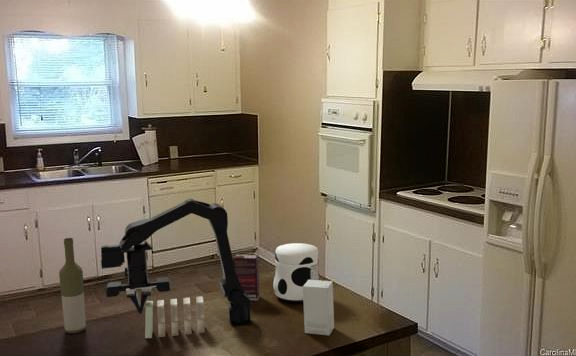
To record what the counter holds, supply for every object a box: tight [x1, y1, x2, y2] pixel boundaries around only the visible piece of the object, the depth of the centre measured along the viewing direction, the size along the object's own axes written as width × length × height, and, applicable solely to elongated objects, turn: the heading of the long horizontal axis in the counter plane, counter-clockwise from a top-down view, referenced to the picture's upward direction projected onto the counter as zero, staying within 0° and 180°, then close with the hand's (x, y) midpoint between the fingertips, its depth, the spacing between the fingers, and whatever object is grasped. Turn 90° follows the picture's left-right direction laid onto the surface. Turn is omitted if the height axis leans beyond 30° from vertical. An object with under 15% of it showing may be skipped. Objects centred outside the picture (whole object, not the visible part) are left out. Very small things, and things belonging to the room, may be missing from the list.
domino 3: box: [169, 298, 180, 337], centre depth 174 cm, size 2×5×10 cm, turn 12°
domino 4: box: [182, 297, 192, 335], centre depth 175 cm, size 2×5×10 cm, turn 12°
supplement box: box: [232, 254, 260, 301], centre depth 202 cm, size 9×5×16 cm, turn 84°
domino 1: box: [144, 300, 154, 339], centre depth 173 cm, size 2×5×10 cm, turn 11°
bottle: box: [58, 237, 87, 334], centre depth 175 cm, size 7×7×30 cm
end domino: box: [195, 295, 206, 334], centre depth 176 cm, size 2×5×10 cm, turn 12°
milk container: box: [272, 242, 321, 303], centre depth 202 cm, size 17×17×18 cm
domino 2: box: [156, 299, 166, 338], centre depth 174 cm, size 2×5×10 cm, turn 12°
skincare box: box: [303, 279, 335, 336], centre depth 173 cm, size 8×7×16 cm
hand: (140, 313), depth 172 cm, fingers closed
